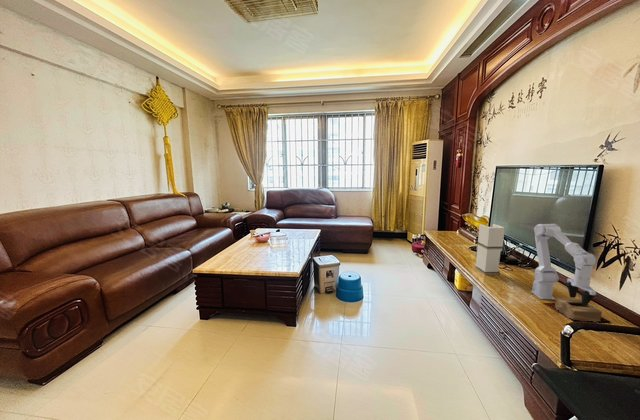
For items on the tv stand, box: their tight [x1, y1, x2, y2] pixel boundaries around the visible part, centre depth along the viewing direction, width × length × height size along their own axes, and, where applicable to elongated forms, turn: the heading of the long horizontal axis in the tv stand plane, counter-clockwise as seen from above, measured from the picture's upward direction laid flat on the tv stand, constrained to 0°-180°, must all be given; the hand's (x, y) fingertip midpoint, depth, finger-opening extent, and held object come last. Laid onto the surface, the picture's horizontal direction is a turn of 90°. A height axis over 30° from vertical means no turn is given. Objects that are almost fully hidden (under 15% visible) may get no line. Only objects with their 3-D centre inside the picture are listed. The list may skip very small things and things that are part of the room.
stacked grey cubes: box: [475, 223, 505, 276], centre depth 185 cm, size 11×11×35 cm
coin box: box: [554, 297, 603, 323], centre depth 132 cm, size 12×12×6 cm
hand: (578, 301), depth 131 cm, fingers open, 7 cm apart
